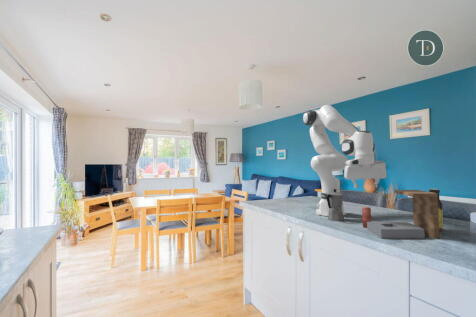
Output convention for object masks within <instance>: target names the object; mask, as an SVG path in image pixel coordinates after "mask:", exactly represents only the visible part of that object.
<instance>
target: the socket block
mask: <svg viewBox="0 0 476 317" xmlns="http://www.w3.org/2000/svg"><path fill="white" fill-rule="evenodd" d="M366 230H367V231H369V232H370V233H372V234H373V235H375V236H377V237H378V238H380V239H426V238H425V236H426V235H425V234H424V229H423V228H420V227H418V226H415V225H414V223H413V224H412V223H410V222H408V221H398V220H397V221H371V222H367V228H366Z"/></svg>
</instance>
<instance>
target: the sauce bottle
mask: <svg viewBox="0 0 476 317" xmlns="http://www.w3.org/2000/svg"><path fill="white" fill-rule="evenodd" d="M428 192H433V193H437V198H438V219H439V232H442V231H443V227H444V226H443V225H444V224H443V223H444V222H443V220H444V219H443V218H444V216H443V215H444V214H443V213H444V212H443V203H442V201H441V199H440V192H441V191H440V189H439V188H429V189H428Z"/></svg>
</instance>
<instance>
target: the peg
mask: <svg viewBox="0 0 476 317" xmlns="http://www.w3.org/2000/svg"><path fill="white" fill-rule="evenodd" d="M371 208H372V207H369V206H368V207H367V206H362V207H361V215H362V216H361V218H362V228H365V229H367V222H372V209H371Z"/></svg>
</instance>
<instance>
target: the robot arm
mask: <svg viewBox="0 0 476 317" xmlns="http://www.w3.org/2000/svg"><path fill="white" fill-rule="evenodd" d="M302 122H303V124H304V125H306V126H309V127H310V128H309V136H310V140H311V143H312V145H313V148H314V150H315V153H317V154H318V155H315V156H312V158H311V160H310V166H311V169H312V170H313V171H314V172H316V174H317V175H318V177H319V179H320V185H321V193H320V200H319V202H318V203H316V207H317V208H316V209H315V213H316V216H317V215H318V216H324V217H328V215H329V206H328V202H327V194H328V193H332V192H334V190H333V189H336V192H337V193H341V188H340V187H341V186H340V184H341V183H340V180H339V179H338V178H337V177H335V176H334V174H333V172H341V171H344V172H343V173H344V174H343V178H344V179H345V180H351V182H352V183H353V188H354V189H358V188H359V184H358V183H356V181H357V180H370V179H371V180H374V183H372V187H373V188H378V184H379V183H380V179H381V180H382V179H386V178H387V176H388V175H387V170H386V167H387V165H386V164H387V163H386V162H385V161H383V160H375V156H374V152H375V149H376V143H375V142H374V138H373V134H372V132H371V131H369V130H360V129H359V128H358V127H356V126H355V125H354V124H353V123H351V122H350V121H348V120H347V119H346V118H345V117H343V116H342V115H341V114H340V112H339V111H338V110H337V109H336V108H334V107H333V106H332V105H330V104H325V105H322V106H321V107H320V108H319V109H309V110H306V111H304V113H303V115H302ZM326 129H327V130H328V131H330V132H335V133H341V134H344V135H346V136H348V138H344V140H343V141H342V142H341V144H340V150H341V152H342V153H343V154H342V153H341V152H339V151H338V150H337V149H336V148H335V147H334V146H333V144H332V142H331V140H330V138H329V135H328V133H327V132H326ZM347 156H352V157H353V156H354V157H353V158H352V159H348V157H347ZM344 205H345V204H344V201H342V211H343V216H346V215H347V213H348V212H345V206H344Z"/></svg>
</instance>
